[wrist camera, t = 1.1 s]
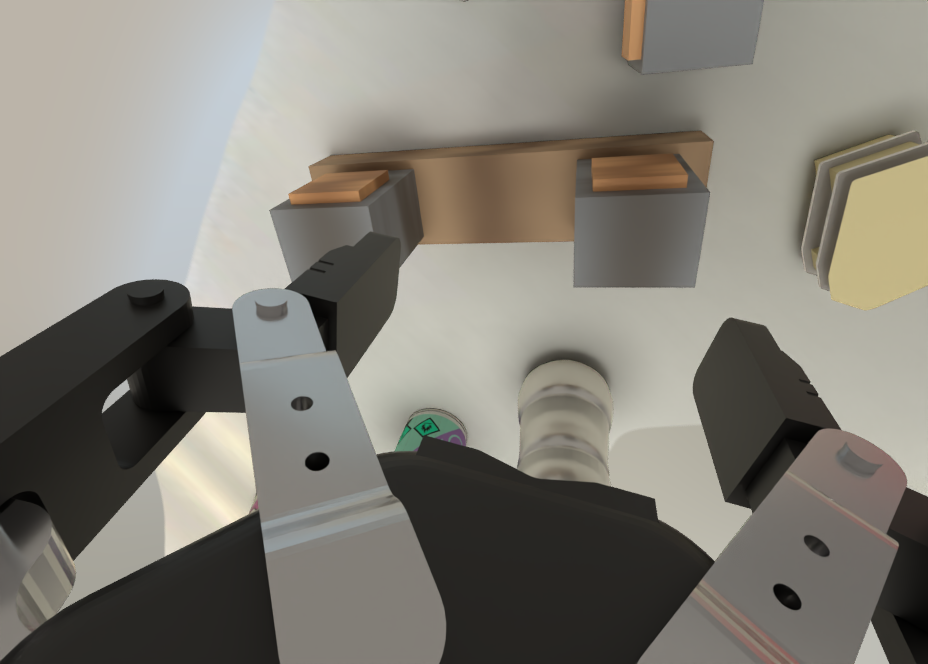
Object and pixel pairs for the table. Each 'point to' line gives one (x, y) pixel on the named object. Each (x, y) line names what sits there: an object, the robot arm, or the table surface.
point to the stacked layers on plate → (870, 221)
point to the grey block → (689, 34)
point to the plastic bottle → (565, 423)
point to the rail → (518, 203)
